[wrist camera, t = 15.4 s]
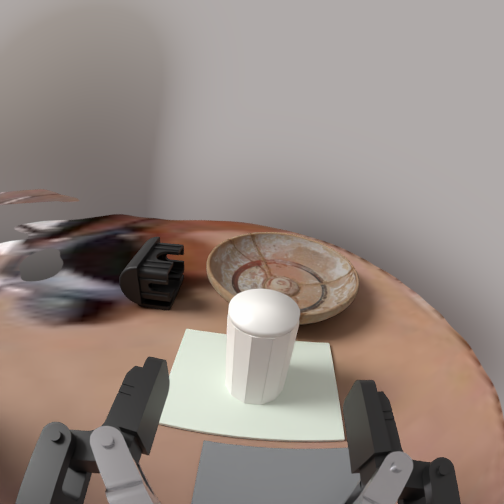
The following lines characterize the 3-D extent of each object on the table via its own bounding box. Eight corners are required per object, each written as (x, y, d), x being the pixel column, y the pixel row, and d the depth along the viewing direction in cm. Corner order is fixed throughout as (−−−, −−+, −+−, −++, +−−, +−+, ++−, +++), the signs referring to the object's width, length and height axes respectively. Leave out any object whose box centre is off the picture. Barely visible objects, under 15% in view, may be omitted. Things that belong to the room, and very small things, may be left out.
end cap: (145, 271, 47) (142, 234, 44) (185, 275, 47) (184, 238, 44) (123, 306, 38) (115, 265, 35) (169, 313, 38) (165, 270, 35)
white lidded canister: (222, 400, 26) (223, 328, 22) (229, 358, 31) (233, 285, 27) (282, 406, 26) (302, 335, 21) (282, 363, 31) (297, 291, 27)
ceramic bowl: (177, 312, 39) (174, 282, 37) (239, 246, 59) (240, 223, 57) (346, 359, 33) (358, 330, 31) (354, 272, 53) (360, 248, 51)
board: (154, 423, 23) (153, 421, 23) (186, 331, 35) (186, 328, 35) (343, 440, 22) (344, 439, 22) (328, 345, 35) (329, 343, 35)
